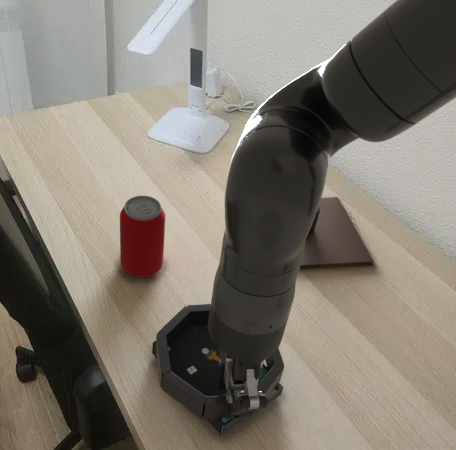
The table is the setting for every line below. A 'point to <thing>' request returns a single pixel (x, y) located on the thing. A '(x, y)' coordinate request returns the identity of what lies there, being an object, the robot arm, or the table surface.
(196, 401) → the ring
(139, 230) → the beverage can
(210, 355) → the disk drive
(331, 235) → the stand
